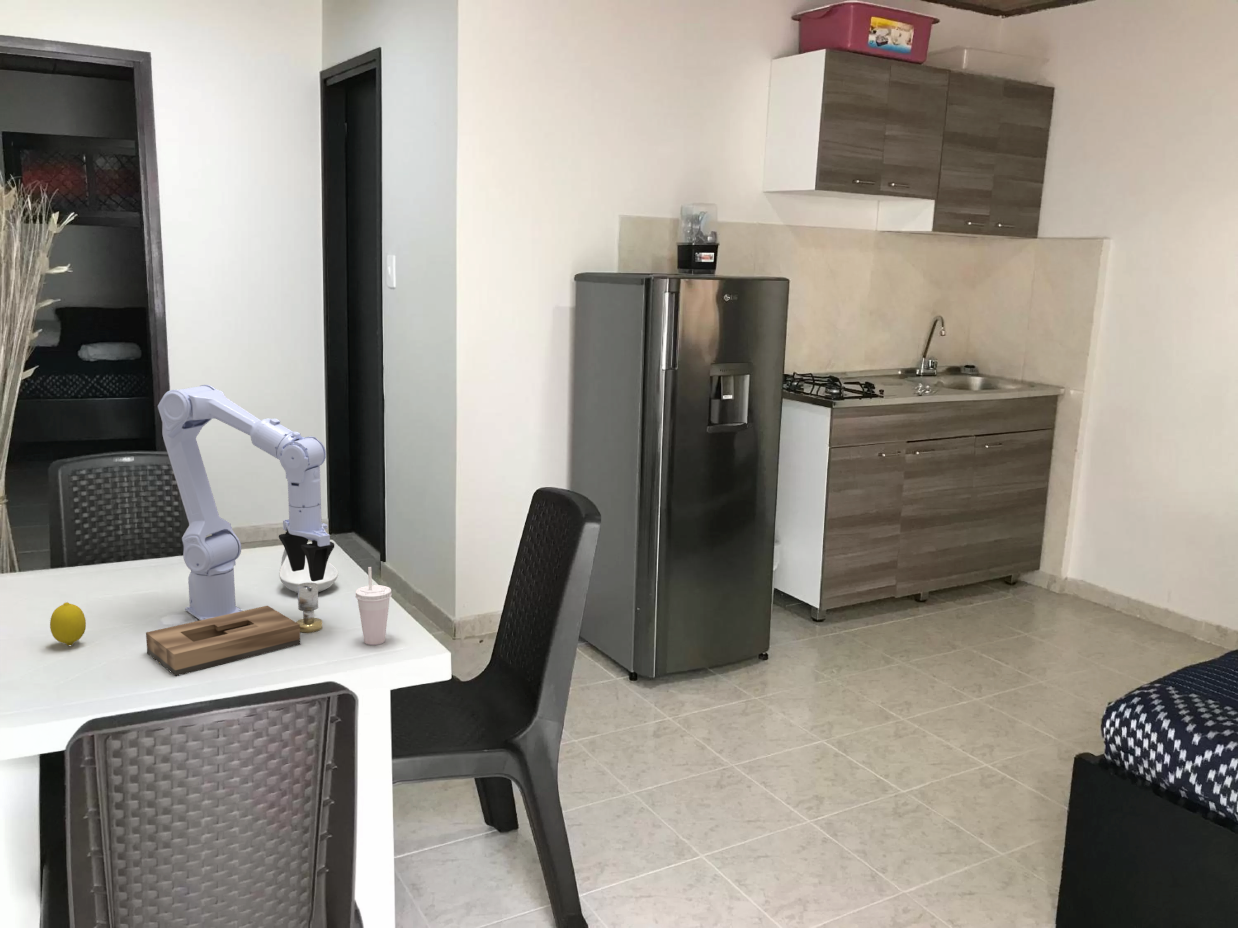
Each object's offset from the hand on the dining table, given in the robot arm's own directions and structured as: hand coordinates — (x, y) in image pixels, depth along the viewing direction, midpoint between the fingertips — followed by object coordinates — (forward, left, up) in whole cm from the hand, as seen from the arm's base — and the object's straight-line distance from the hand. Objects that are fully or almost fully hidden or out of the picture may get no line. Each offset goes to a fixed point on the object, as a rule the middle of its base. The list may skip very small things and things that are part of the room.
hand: (307, 575), depth 189 cm
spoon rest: (-27, +12, -11) cm, 31 cm away
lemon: (-18, -36, -11) cm, 42 cm away
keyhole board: (0, -16, -10) cm, 19 cm away
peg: (0, 0, -10) cm, 10 cm away
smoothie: (+14, +6, -11) cm, 18 cm away
